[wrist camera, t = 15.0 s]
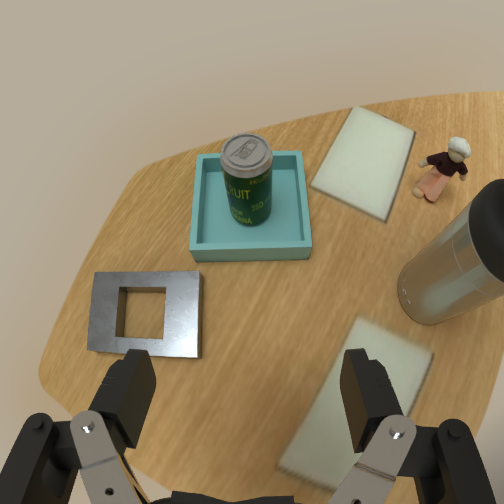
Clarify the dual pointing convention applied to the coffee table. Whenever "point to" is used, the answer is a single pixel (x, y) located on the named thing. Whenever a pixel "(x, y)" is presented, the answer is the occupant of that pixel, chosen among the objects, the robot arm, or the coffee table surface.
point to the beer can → (248, 177)
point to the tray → (257, 236)
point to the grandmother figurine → (442, 169)
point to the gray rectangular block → (175, 322)
